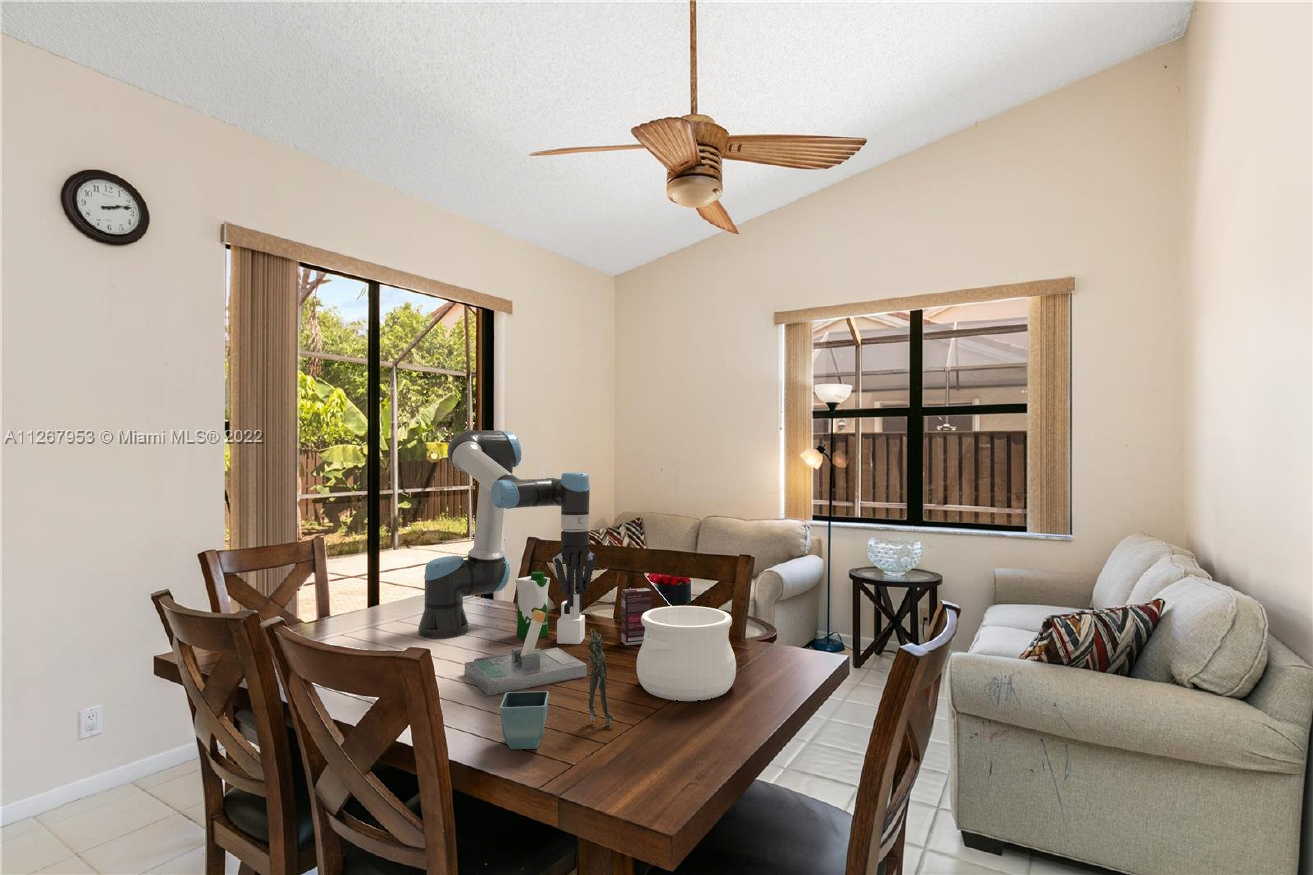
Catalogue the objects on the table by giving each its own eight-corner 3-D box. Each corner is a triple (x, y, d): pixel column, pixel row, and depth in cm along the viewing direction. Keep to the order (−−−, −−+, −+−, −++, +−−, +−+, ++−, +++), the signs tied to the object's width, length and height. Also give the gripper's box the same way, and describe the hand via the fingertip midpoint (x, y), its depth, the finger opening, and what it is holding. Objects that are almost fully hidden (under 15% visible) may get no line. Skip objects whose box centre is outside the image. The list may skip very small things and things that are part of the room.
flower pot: (504, 736, 140) (505, 691, 140) (548, 734, 141) (549, 690, 141) (498, 755, 131) (499, 707, 132) (545, 753, 132) (545, 706, 132)
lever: (518, 658, 179) (533, 609, 181) (525, 659, 180) (540, 610, 182) (524, 662, 175) (540, 612, 178) (531, 663, 176) (546, 614, 179)
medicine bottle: (585, 638, 213) (585, 599, 213) (580, 644, 206) (580, 604, 206) (562, 637, 214) (562, 598, 214) (556, 643, 207) (556, 603, 207)
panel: (464, 674, 178) (464, 651, 178) (557, 658, 192) (557, 636, 192) (488, 695, 163) (488, 670, 163) (586, 676, 177) (586, 652, 177)
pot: (686, 664, 187) (686, 599, 188) (758, 687, 170) (758, 615, 170) (613, 687, 169) (613, 615, 169) (686, 715, 152) (686, 635, 152)
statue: (607, 733, 142) (607, 635, 142) (582, 726, 145) (582, 631, 145) (619, 725, 146) (620, 629, 146) (594, 719, 149) (595, 626, 149)
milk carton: (532, 641, 209) (532, 575, 209) (511, 637, 214) (512, 572, 214) (552, 635, 216) (553, 571, 216) (532, 631, 221) (532, 568, 221)
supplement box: (647, 639, 212) (647, 587, 213) (652, 643, 208) (652, 590, 208) (620, 641, 209) (620, 589, 210) (625, 645, 205) (625, 592, 205)
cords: (468, 668, 183) (468, 658, 183) (540, 656, 194) (541, 646, 194) (473, 673, 179) (473, 662, 179) (547, 660, 190) (547, 650, 190)
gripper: (558, 533, 179) (558, 624, 179) (603, 530, 186) (602, 618, 186) (546, 530, 185) (546, 618, 185) (590, 527, 192) (589, 612, 192)
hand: (574, 618), depth 185 cm, fingers closed
